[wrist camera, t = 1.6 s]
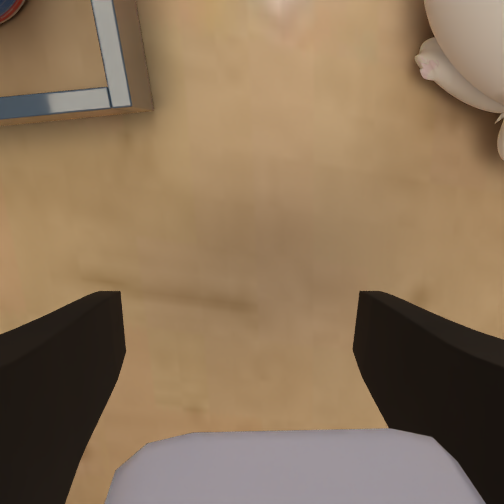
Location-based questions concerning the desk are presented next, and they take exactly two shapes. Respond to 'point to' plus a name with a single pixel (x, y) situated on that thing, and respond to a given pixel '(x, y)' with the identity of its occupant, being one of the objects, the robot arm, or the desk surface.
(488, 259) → the desk surface
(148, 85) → the open box
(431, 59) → the cat figurine
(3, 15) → the pill bottle
